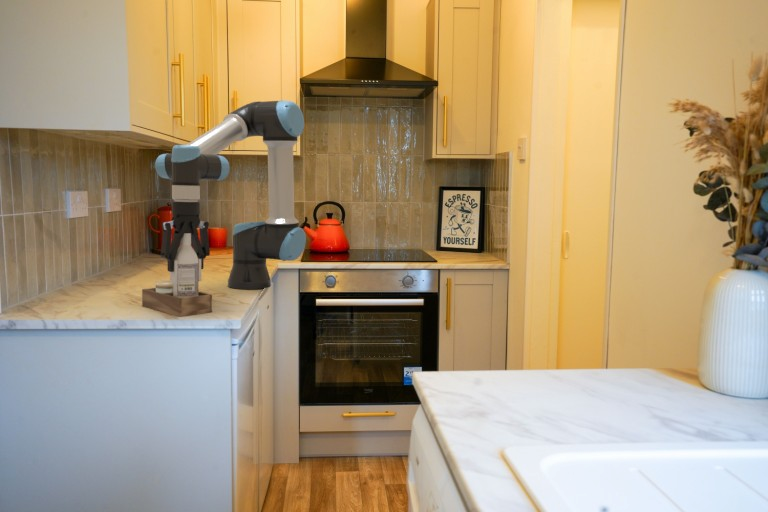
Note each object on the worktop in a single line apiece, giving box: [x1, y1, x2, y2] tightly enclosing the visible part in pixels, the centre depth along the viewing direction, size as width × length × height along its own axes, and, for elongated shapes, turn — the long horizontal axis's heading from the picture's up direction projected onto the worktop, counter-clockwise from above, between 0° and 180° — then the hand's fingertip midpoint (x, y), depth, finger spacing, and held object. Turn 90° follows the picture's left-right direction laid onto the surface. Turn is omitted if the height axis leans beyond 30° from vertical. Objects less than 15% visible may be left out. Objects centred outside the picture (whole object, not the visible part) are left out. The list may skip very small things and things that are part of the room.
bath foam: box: [173, 233, 199, 298], centre depth 187 cm, size 7×7×20 cm
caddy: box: [141, 287, 213, 317], centre depth 191 cm, size 10×20×5 cm, turn 48°
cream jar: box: [154, 280, 173, 293], centre depth 194 cm, size 7×7×6 cm
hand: (185, 281), depth 187 cm, fingers closed on bath foam, 7 cm apart
